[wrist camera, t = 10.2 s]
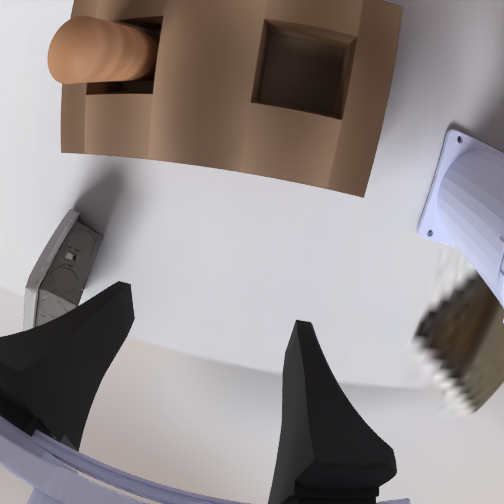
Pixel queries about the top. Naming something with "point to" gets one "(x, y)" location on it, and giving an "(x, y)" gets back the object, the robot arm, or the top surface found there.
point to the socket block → (246, 88)
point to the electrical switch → (60, 272)
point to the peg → (101, 52)
